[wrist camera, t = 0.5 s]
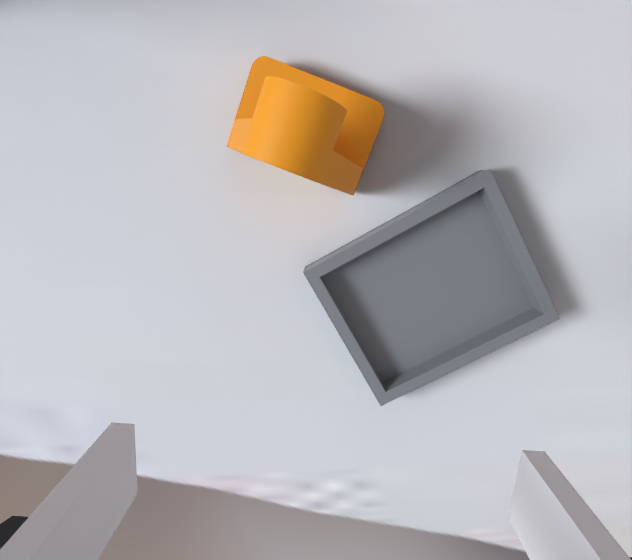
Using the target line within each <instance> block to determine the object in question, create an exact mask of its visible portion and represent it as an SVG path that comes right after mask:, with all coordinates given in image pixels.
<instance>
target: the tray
mask: <svg viewBox="0 0 632 560" xmlns="http://www.w3.org/2000/svg"><path fill="white" fill-rule="evenodd" d="M303 273H304V275H305V276H306V278H307V280H308V281H309V283H310V285H311V287H312V288H313V290H314V292H315V294H316V295H317V297H318V299H319V300H320V302H321V304H322V306H323V307H324V309H325V311H326V312H327V314H328V316H329V318H330V319H331V321H332V323H333V324H334V326H335V328H336V330H337V331H338V333H339V335H340V337H341V338H342V340H343V342H344V343H345V345H346V347H347V349H348V350H349V352H350V354H351V355H352V357H353V359H354V361H355V362H356V364H357V366H358V368H359V369H360V371H361V373H362V374H363V376H364V378H365V380H366V381H367V383H368V385H369V386H370V388H371V390H372V392H373V393H374V395H375V397H376V399H377V400H378V402H379V404H380V405H381V406H382V405H384V404H386V403H388V402H390V401H392V400H394V399H396V398H398V397H400V396H402V395H404V394H406V393H408V392H410V391H412V390H414V389H417V388H419V387H421V386H423V385H425V384H427V383H429V382H431V381H433V380H435V379H437V378H439V377H441V376H443V375H445V374H447V373H449V372H451V371H453V370H456V369H458V368H460V367H462V366H464V365H466V364H468V363H470V362H472V361H474V360H476V359H478V358H480V357H482V356H484V355H486V354H488V353H490V352H492V351H495V350H497V349H499V348H501V347H503V346H505V345H507V344H509V343H511V342H513V341H515V340H517V339H519V338H521V337H523V336H525V335H527V334H529V333H531V332H534V331H536V330H538V329H540V328H542V327H544V326H546V325H548V324H550V323H552V322H554V321H556V320H558V319H560V318H559V315H558V313H557V311H556V309H555V307H554V305H553V303H552V300H551V298H550V296H549V294H548V292H547V290H546V288H545V285H544V283H543V281H542V279H541V277H540V275H539V272H538V270H537V268H536V266H535V264H534V262H533V260H532V257H531V255H530V253H529V251H528V249H527V247H526V245H525V242H524V240H523V238H522V236H521V234H520V232H519V230H518V227H517V225H516V223H515V221H514V219H513V217H512V214H511V212H510V210H509V208H508V206H507V204H506V202H505V199H504V197H503V195H502V193H501V191H500V189H499V187H498V184H497V182H496V180H495V178H494V176H493V174H492V172H491V170H482V171H478V172H476V173H475V174H473V175H471V176H469V177H467V178H466V179H464V180H462V181H460V182H458V183H456V184H455V185H453V186H451V187H449V188H447V189H446V190H444V191H442V192H440V193H438V194H437V195H435V196H433V197H431V198H429V199H427V200H426V201H424V202H422V203H420V204H418V205H417V206H415V207H413V208H411V209H409V210H408V211H406V212H404V213H402V214H400V215H398V216H397V217H395V218H393V219H391V220H389V221H388V222H386V223H384V224H382V225H380V226H379V227H377V228H375V229H373V230H371V231H369V232H368V233H366V234H364V235H362V236H360V237H359V238H357V239H355V240H353V241H351V242H349V243H348V244H346V245H344V246H342V247H340V248H339V249H337V250H335V251H333V252H331V253H330V254H328V255H326V256H324V257H322V258H320V259H319V260H317V261H315V262H313V263H311V264H310V265H308V266H306V267H305V269H304V272H303Z"/></svg>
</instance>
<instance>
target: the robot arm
mask: <svg viewBox="0 0 632 560" xmlns="http://www.w3.org/2000/svg"><path fill="white" fill-rule="evenodd" d="M136 495H137V475H136V452H135V430H134V424H124V423H111V424H110V425H109V426H108V428H107V429H106V430H105V431H104V432H103V433H102V434H101V436H100V437H99V438H98V439H97V440H96V441H95V442H94V443H93V445H92V446H91V447H90V448H89V449H88V450H87V451H86V453H85V454H84V455H83V456H82V457H81V458H80V459H79V461H78V462H77V463H76V464H75V465H74V466H73V467H72V469H71V470H70V471H69V472H68V473H67V474H66V475H65V477H64V478H63V479H62V480H61V481H60V482H59V483H58V485H57V486H56V487H55V488H54V489H53V490H52V491H51V492H50V494H49V495H48V496H47V497H46V498H45V499H44V501H43V502H42V503H41V504H40V505H39V506H38V507H37V509H36V510H35V511H34V512H33V513H32V514H31V515H30V516H29V517H21V516H12V517H10V518H9V519H7V520H6V521H4V522H3V523H1V524H0V560H98V558H99V556H100V555H101V553H102V552H103V550H104V548H105V547H106V545H107V543H108V542H109V540H110V538H111V537H112V535H113V533H114V532H115V530H116V528H117V527H118V525H119V523H120V522H121V520H122V518H123V517H124V515H125V513H126V512H127V510H128V508H129V507H130V505H131V503H132V502H133V500H134V498H135V497H136ZM509 521H510V523H511V525H512V527H513V528H514V530H515V532H516V534H517V536H518V538H519V540H520V541H521V543H522V545H523V547H524V549H525V551H526V553H527V555H528V556H529V558H530V560H632V557H629V556H628V555H627V554H626V553H625V551H624V550H623V549H622V548H621V546H620V545H619V544H618V543H617V541H616V540H615V539H614V538H613V536H612V535H611V534H610V533H609V531H608V530H607V529H606V528H605V526H604V525H603V524H602V523H601V521H600V520H599V519H598V518H597V516H596V515H595V514H594V513H593V511H592V510H591V509H590V508H589V506H588V505H587V504H586V503H585V501H584V500H583V499H582V498H581V496H580V495H579V494H578V493H577V491H576V490H575V489H574V488H573V486H572V485H571V484H570V483H569V481H568V480H567V479H566V478H565V476H564V475H563V474H562V473H561V471H560V470H559V469H558V468H557V466H556V465H555V464H554V463H553V461H552V460H551V459H550V458H549V456H548V455H547V454H546V453H545V452H542V451H527V450H522V453H521V458H520V463H519V468H518V473H517V478H516V483H515V488H514V493H513V499H512V504H511V509H510V514H509Z"/></svg>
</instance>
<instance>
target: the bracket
mask: <svg viewBox="0 0 632 560" xmlns="http://www.w3.org/2000/svg"><path fill="white" fill-rule="evenodd" d="M383 118H384V108H383V106H382V104H381V103H380V102H378V101H377V100H374V99H372V98H369V97H367V96H364V95H362V94H359V93H357V92H354V91H352V90H349V89H347V88H344V87H342V86H339V85H337V84H334V83H332V82H329V81H327V80H324V79H322V78H319V77H317V76H314V75H312V74H309V73H307V72H304V71H302V70H299V69H297V68H294V67H292V66H289V65H287V64H284V63H282V62H279V61H277V60H274V59H272V58H269V57H265V56H263V57H259V58H257V59H256V60H255V61H254V62H253V64H252V67H251V70H250V73H249V76H248V80H247V83H246V86H245V89H244V92H243V96H242V99H241V102H240V105H239V108H238V111H237V115H236V118H235V121H234V124H233V127H232V131H231V134H230V137H229V140H228V143H227V147H229V148H231V149H234V150H236V151H238V152H241V153H243V154H245V155H248V156H250V157H253V158H255V159H258V160H260V161H263V162H266V163H268V164H271V165H273V166H276V167H278V168H281V169H284V170H286V171H289V172H291V173H294V174H297V175H299V176H302V177H304V178H307V179H310V180H312V181H315V182H318V183H321V184H323V185H326V186H329V187H332V188H334V189H337V190H340V191H342V192H345V193H348V194H351V195H354V193H355V190H356V188H357V185H358V182H359V180H360V177H361V175H362V172H363V170H364V167H365V164H366V162H367V159H368V157H369V154H370V152H371V149H372V147H373V144H374V141H375V139H376V136H377V134H378V131H379V129H380V126H381V123H382V121H383Z"/></svg>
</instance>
